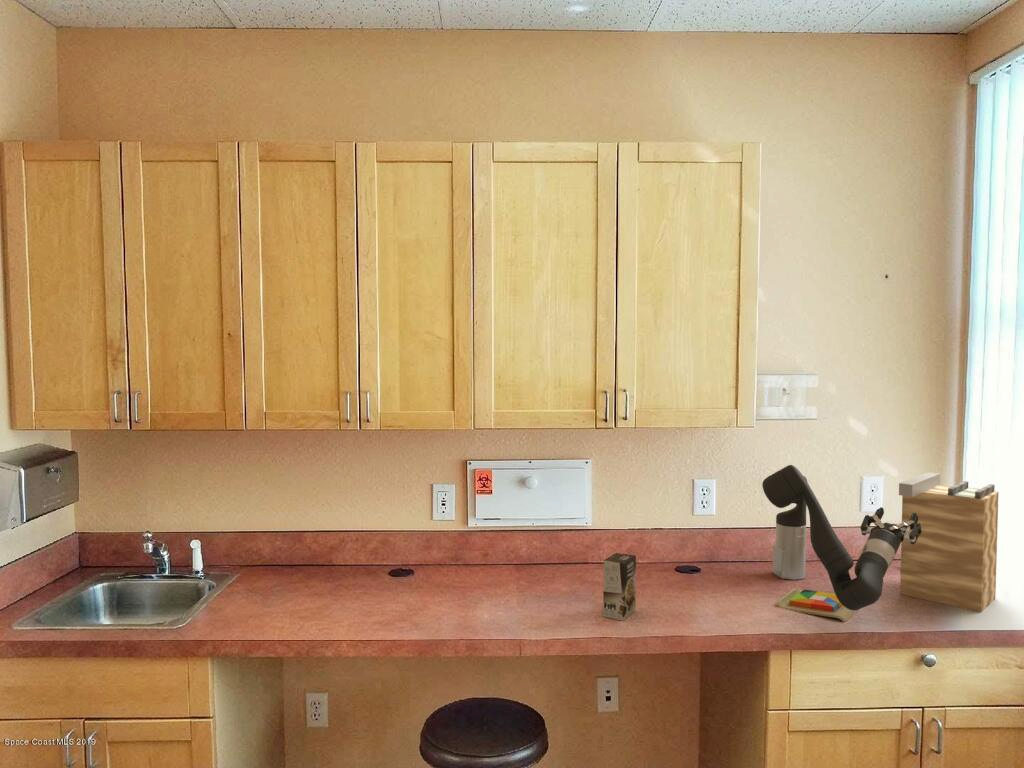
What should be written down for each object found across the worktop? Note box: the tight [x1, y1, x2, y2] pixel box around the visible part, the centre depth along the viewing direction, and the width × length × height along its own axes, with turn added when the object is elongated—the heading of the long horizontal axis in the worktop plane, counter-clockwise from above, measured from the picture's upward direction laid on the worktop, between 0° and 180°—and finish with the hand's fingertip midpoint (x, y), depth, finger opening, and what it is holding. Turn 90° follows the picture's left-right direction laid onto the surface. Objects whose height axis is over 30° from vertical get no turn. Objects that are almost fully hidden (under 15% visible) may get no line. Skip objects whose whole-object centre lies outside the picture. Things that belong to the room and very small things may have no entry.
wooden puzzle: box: [776, 587, 860, 623], centre depth 205 cm, size 18×19×4 cm
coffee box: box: [602, 552, 637, 622], centre depth 198 cm, size 9×6×16 cm
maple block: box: [899, 480, 999, 613], centre depth 212 cm, size 16×21×34 cm
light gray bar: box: [898, 471, 941, 497], centre depth 212 cm, size 26×4×4 cm, turn 134°
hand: (898, 512), depth 199 cm, fingers open, 8 cm apart
